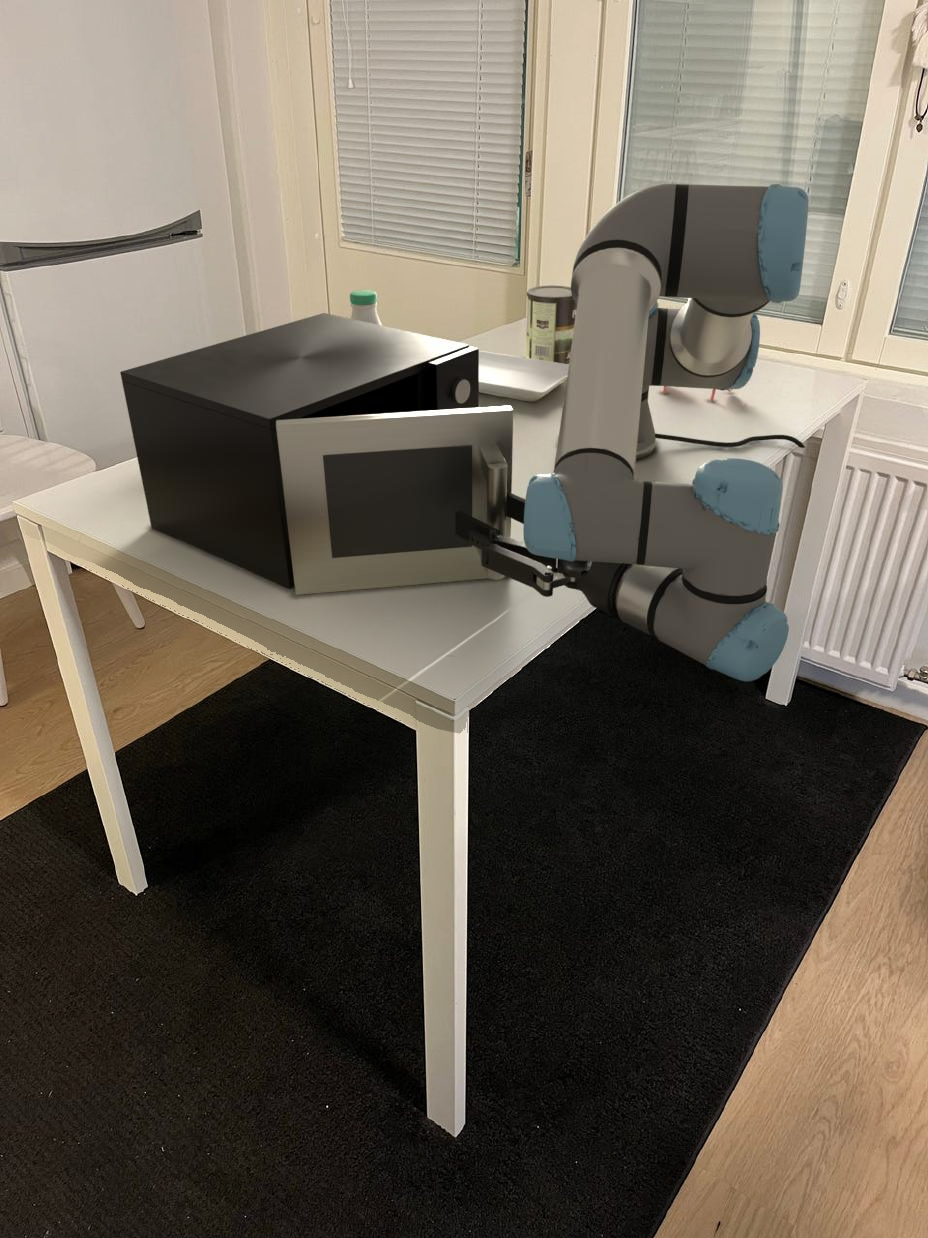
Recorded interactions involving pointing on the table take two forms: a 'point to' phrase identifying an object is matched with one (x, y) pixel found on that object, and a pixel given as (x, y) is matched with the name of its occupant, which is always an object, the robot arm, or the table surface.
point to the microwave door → (393, 495)
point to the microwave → (271, 422)
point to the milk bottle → (364, 306)
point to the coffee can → (550, 323)
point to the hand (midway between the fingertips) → (482, 512)
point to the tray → (518, 376)
